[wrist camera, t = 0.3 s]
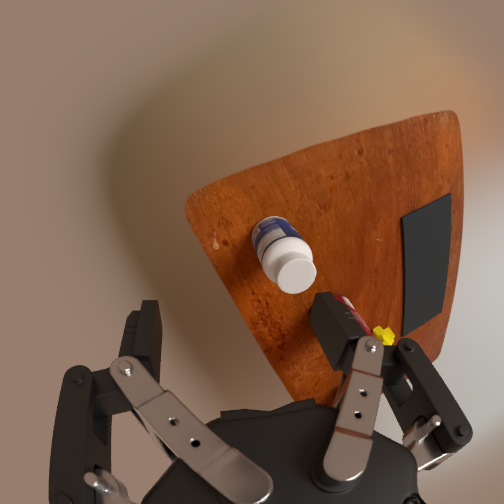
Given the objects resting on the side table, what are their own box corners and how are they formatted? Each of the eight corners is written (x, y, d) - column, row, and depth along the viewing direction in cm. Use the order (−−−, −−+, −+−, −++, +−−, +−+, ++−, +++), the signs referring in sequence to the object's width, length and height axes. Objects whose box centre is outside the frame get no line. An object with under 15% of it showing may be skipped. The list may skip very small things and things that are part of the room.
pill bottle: (299, 238, 35) (331, 279, 27) (265, 261, 36) (286, 309, 28) (279, 206, 33) (308, 241, 24) (242, 231, 34) (259, 274, 25)
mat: (401, 216, 37) (402, 218, 37) (449, 192, 37) (451, 193, 37) (402, 335, 52) (402, 337, 52) (440, 310, 52) (441, 311, 52)
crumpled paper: (388, 320, 48) (408, 346, 41) (388, 342, 52) (406, 367, 45) (363, 334, 48) (382, 362, 41) (365, 355, 52) (381, 382, 45)
